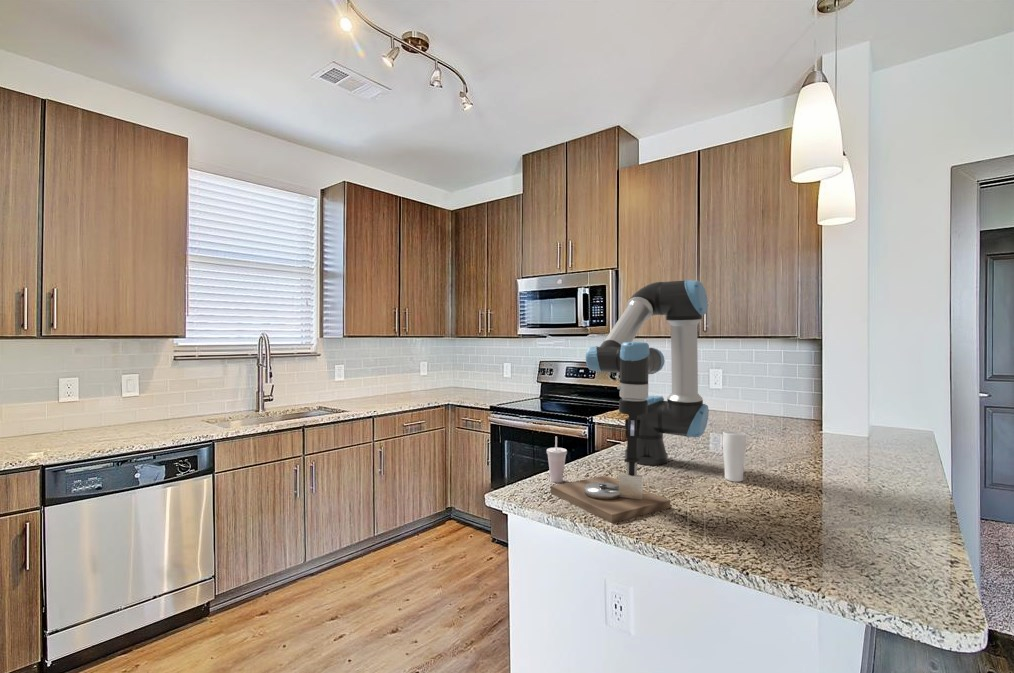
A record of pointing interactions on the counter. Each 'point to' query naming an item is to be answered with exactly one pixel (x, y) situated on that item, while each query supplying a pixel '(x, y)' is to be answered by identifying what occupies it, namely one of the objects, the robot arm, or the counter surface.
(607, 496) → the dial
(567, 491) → the panel
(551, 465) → the smoothie
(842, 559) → the counter surface
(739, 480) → the drinking glass
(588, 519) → the counter surface
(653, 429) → the robot arm
